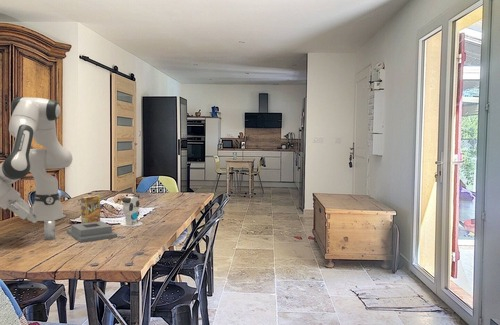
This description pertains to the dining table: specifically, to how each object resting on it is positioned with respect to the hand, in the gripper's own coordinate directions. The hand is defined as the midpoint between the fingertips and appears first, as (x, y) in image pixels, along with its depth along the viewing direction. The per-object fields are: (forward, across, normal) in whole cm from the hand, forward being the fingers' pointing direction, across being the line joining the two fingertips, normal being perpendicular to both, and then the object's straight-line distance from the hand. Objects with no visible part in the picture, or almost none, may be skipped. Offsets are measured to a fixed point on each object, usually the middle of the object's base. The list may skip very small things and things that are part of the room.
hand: (35, 219), depth 173 cm
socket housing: (+22, -1, -10) cm, 25 cm away
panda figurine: (+38, +14, -25) cm, 48 cm away
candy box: (+24, +20, -11) cm, 33 cm away
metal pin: (+10, 0, +3) cm, 11 cm away
